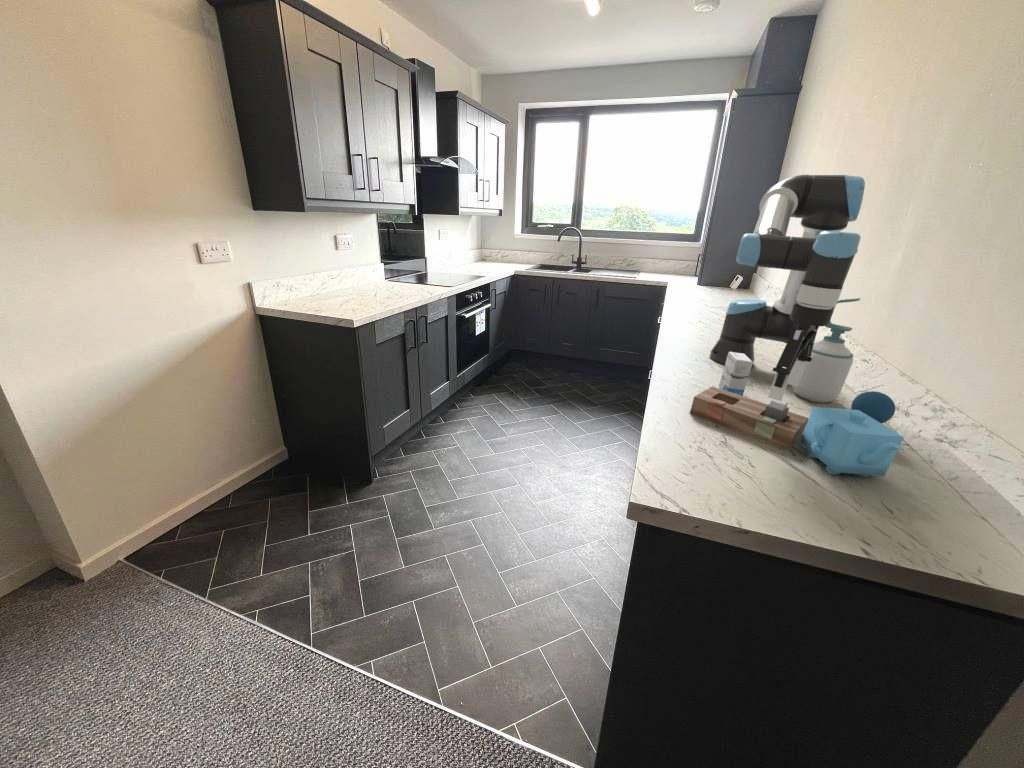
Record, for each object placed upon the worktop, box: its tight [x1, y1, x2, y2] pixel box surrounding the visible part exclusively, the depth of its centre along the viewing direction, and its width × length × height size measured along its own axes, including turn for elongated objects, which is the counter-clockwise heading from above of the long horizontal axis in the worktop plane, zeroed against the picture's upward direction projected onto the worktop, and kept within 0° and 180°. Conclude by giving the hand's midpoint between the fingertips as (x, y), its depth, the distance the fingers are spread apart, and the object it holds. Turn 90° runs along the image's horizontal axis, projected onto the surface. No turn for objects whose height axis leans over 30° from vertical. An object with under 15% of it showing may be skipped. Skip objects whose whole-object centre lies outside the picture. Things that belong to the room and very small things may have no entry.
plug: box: [763, 399, 790, 423], centre depth 103 cm, size 4×4×8 cm
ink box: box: [718, 352, 754, 396], centre depth 126 cm, size 8×5×12 cm, turn 168°
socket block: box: [689, 386, 809, 452], centre depth 107 cm, size 12×24×5 cm, turn 43°
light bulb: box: [850, 390, 896, 424], centre depth 105 cm, size 8×8×12 cm
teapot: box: [799, 406, 905, 478], centre depth 88 cm, size 18×16×13 cm
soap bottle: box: [792, 297, 861, 403], centre depth 123 cm, size 12×12×31 cm
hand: (783, 391), depth 100 cm, fingers open, 13 cm apart
